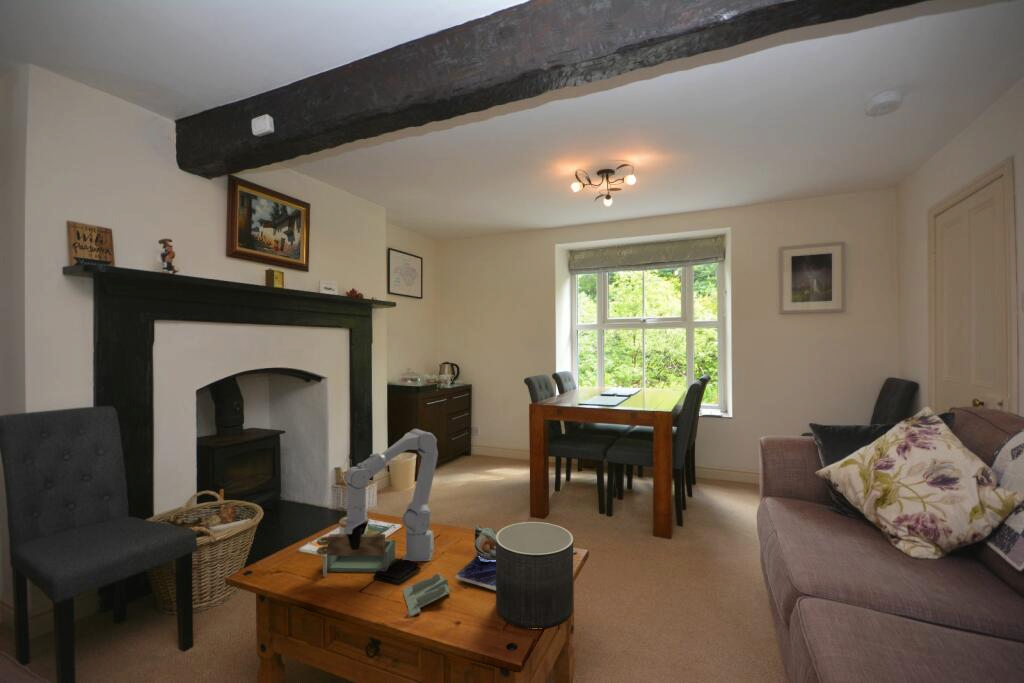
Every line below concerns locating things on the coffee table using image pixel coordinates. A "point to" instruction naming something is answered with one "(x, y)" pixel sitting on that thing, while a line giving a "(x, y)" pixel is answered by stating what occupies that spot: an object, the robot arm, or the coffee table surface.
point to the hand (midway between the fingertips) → (356, 547)
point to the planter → (534, 575)
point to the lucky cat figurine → (485, 543)
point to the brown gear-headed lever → (341, 546)
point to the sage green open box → (360, 561)
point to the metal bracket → (425, 593)
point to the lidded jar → (343, 525)
